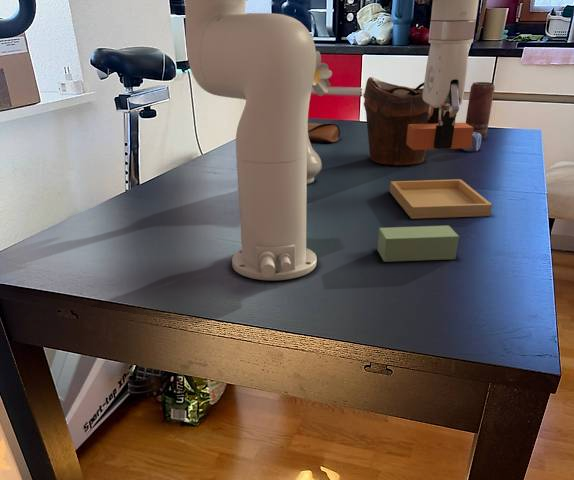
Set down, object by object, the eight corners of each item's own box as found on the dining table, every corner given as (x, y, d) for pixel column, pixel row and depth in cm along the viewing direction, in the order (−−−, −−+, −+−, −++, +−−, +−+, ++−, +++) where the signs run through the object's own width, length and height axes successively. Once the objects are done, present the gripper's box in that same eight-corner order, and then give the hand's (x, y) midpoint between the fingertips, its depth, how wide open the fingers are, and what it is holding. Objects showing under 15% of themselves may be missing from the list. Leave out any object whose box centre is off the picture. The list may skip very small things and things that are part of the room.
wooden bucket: (454, 164, 137) (466, 79, 127) (380, 172, 131) (387, 84, 121) (414, 149, 151) (422, 72, 141) (345, 156, 145) (349, 76, 135)
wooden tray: (490, 216, 104) (492, 204, 103) (411, 218, 103) (412, 207, 102) (459, 189, 119) (460, 179, 118) (389, 191, 118) (390, 181, 117)
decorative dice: (475, 152, 147) (478, 135, 145) (460, 150, 149) (462, 134, 147) (479, 149, 150) (482, 132, 148) (464, 147, 152) (467, 131, 150)
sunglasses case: (271, 139, 161) (274, 114, 161) (277, 148, 168) (280, 124, 168) (333, 142, 157) (337, 117, 157) (338, 151, 164) (341, 127, 164)
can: (458, 137, 163) (465, 82, 155) (475, 135, 165) (484, 81, 157) (472, 141, 158) (481, 84, 150) (490, 139, 160) (500, 83, 153)
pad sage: (455, 259, 87) (459, 236, 85) (383, 262, 86) (385, 238, 84) (445, 247, 91) (448, 225, 89) (377, 250, 91) (378, 227, 89)
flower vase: (333, 171, 133) (337, 45, 119) (322, 193, 118) (325, 52, 104) (278, 169, 135) (276, 45, 121) (260, 190, 120) (255, 52, 106)
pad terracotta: (470, 148, 107) (473, 127, 105) (412, 150, 107) (414, 129, 105) (461, 142, 111) (464, 122, 109) (406, 144, 111) (407, 124, 109)
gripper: (417, 31, 106) (407, 136, 116) (445, 36, 92) (430, 156, 102) (457, 30, 106) (443, 135, 116) (491, 35, 92) (472, 154, 102)
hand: (437, 144), depth 109 cm, fingers closed on pad terracotta, 5 cm apart
